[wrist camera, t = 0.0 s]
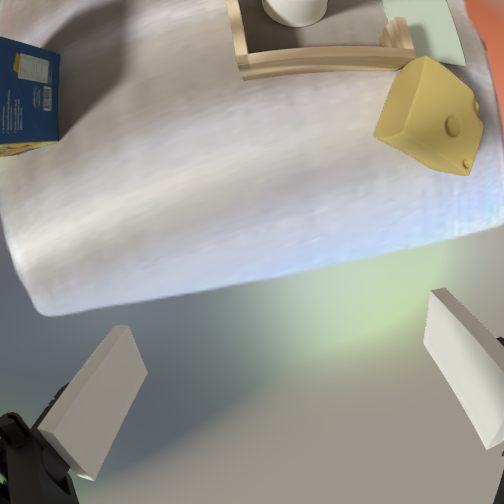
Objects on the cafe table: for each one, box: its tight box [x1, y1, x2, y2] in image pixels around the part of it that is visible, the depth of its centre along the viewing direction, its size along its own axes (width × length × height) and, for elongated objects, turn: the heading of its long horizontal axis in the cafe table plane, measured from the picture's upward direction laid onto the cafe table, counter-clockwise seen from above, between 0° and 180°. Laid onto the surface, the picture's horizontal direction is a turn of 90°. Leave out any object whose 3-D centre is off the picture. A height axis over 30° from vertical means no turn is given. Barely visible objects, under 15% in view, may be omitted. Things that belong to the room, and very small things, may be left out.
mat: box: [381, 0, 466, 66], centre depth 28 cm, size 12×12×1 cm
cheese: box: [373, 56, 484, 176], centre depth 29 cm, size 10×11×10 cm
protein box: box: [0, 37, 60, 157], centre depth 28 cm, size 10×15×16 cm
